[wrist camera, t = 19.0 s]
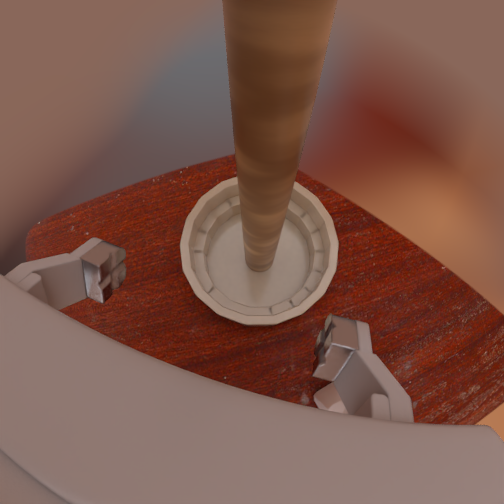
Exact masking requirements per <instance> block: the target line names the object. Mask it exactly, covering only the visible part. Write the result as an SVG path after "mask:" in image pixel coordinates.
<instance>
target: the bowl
mask: <svg viewBox="0 0 504 504" xmlns="http://www.w3.org/2000/svg"><path fill="white" fill-rule="evenodd" d="M338 243H339V242H338V239H337V235H336V231H335V228H334V224H333V221H332V218H331V216H330V215H329V213H328V212H327V210H326V209H325V208H324V206H323V205H322V203H321V202H320V201H319V199H318V198H317V197H316V196H315V195H314V194H312V193H311V192H309V191H308V190H307V189H305V188H304V187H303V186H301V185H300V184H298V183H297V182H294V186H293V190H292V194H291V198H290V201H289V205H288V209H287V213H286V217H285V220H284V224H283V228H282V232H281V235H280V239H279V243H278V246H277V250H276V254H275V257H274V261H273V264H272V266H271V267H270V268H269V269H268V270H266V271H264V272H255V271H253V270H251V269H250V268H249V267H248V266H247V264H246V261H245V252H244V242H243V232H242V221H241V210H240V200H239V189H238V178H237V177H235V178H232V179H229V180H226V181H222V182H221V183H219V184H218V185H217V186H215V187H214V188H213V189H211V190H210V191H209V192H207V193H206V194H205V195H203V196H202V197H201V198H200V199H199V201H198V202H197V204H196V205H195V207H194V208H193V209H192V211H191V212H190V214H189V215H188V217H187V219H186V221H185V225H184V229H183V233H182V237H181V241H180V251H181V259H182V268H183V272H184V274H185V276H186V278H187V280H188V281H189V283H190V285H191V287H192V289H193V291H194V293H195V295H196V296H197V297H198V298H199V299H201V300H202V301H203V302H204V303H205V304H206V305H207V306H209V307H210V308H211V309H212V310H213V311H214V312H215V313H217V314H218V315H220V316H221V317H223V318H225V319H228V320H231V321H233V322H236V323H239V324H242V325H244V326H274V325H276V324H279V323H281V322H284V321H287V320H289V319H292V318H294V317H297V316H299V315H301V314H303V313H304V312H305V311H307V310H308V309H309V308H310V307H311V306H312V305H313V304H314V303H315V302H317V301H318V300H319V299H320V298H321V297H322V296H323V295H324V294H325V292H326V290H327V288H328V286H329V284H330V282H331V280H332V278H333V276H334V274H335V272H336V268H337V257H338V246H339V244H338Z"/></svg>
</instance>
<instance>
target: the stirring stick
mask: <svg viewBox="0 0 504 504" xmlns="http://www.w3.org/2000/svg"><path fill="white" fill-rule="evenodd" d="M222 1H223V14H224V26H225V39H226V52H227V63H228V75H229V87H230V98H231V111H232V122H233V134H234V145H235V156H236V167H237V178H238V189H239V200H240V210H241V221H242V232H243V242H244V252H245V261H246V264H247V266H248V267H249V268H250V269H251V270H253V271H255V272H264V271H266V270H268V269H269V268H270V267H271V266H272V264H273V261H274V257H275V254H276V250H277V246H278V243H279V239H280V235H281V232H282V228H283V224H284V220H285V217H286V213H287V209H288V205H289V201H290V198H291V194H292V190H293V186H294V182H295V178H296V174H297V171H298V167H299V163H300V158H301V154H302V151H303V147H304V143H305V139H306V134H307V131H308V127H309V122H310V118H311V114H312V110H313V106H314V102H315V98H316V93H317V89H318V85H319V80H320V76H321V72H322V68H323V63H324V59H325V54H326V50H327V46H328V41H329V37H330V31H331V27H332V23H333V18H334V14H335V9H336V4H337V0H222Z"/></svg>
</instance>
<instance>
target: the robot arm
mask: <svg viewBox="0 0 504 504" xmlns="http://www.w3.org/2000/svg"><path fill="white" fill-rule="evenodd" d="M125 258H126V253H125V250H124V248H122V247H119V246H117V245H114V244H112V243H109V242H106V241H103V240H101V239H98V238H91V239H90V240H88V241H87V242H86V243H84V244H83V245H82V246H80V247H79V248H77V249H76V250H75V251H73V252H72V253H71V254H68V253H65V254H61V255H56V256H52V257H47V258H43V259H39V260H34V261H30V262H26V263H21V264H20V265H18V266H17V267H16V268H14V269H13V270H12V271H10V272H9V273H8V274H7V275H5V276H2V275H1V274H0V504H504V442H503V440H502V439H501V438H500V437H499V435H498V434H497V433H496V432H495V431H494V430H493V429H492V428H491V427H490V426H487V425H443V424H425V423H414V419H413V411H412V404H411V398H410V397H409V395H408V394H407V393H406V392H405V390H404V389H403V388H402V387H401V385H400V384H399V383H398V381H397V380H396V379H395V378H394V376H393V375H392V374H391V373H390V371H389V370H388V369H387V368H386V366H385V365H384V364H383V363H382V361H381V360H380V359H379V358H378V356H377V355H376V354H373V352H372V345H371V337H370V331H369V325H368V323H365V322H361V321H357V320H351V319H347V318H344V317H340V316H336V315H333V314H329V316H328V317H327V319H326V321H325V328H324V329H322V330H321V331H320V333H319V335H318V338H317V341H316V344H315V349H314V355H315V356H316V359H315V360H314V362H313V371H312V377H316V378H320V379H324V380H328V381H332V382H333V384H334V386H335V388H336V390H337V392H338V394H339V396H340V398H341V400H342V402H343V404H344V406H345V408H346V410H347V412H348V414H344V413H338V412H333V411H328V410H323V409H318V408H313V407H309V406H304V405H300V404H295V403H291V402H287V401H283V400H279V399H275V398H271V397H268V396H264V395H260V394H257V393H253V392H250V391H246V390H243V389H240V388H237V387H233V386H230V385H227V384H224V383H221V382H218V381H215V380H212V379H209V378H206V377H203V376H201V375H198V374H195V373H192V372H190V371H187V370H184V369H181V368H179V367H176V366H174V365H171V364H169V363H166V362H164V361H161V360H159V359H156V358H154V357H151V356H149V355H147V354H144V353H142V352H140V351H137V350H135V349H133V348H131V347H129V346H126V345H124V344H122V343H120V342H118V341H116V340H113V339H111V338H109V337H107V336H105V335H103V334H101V333H99V332H97V331H95V330H93V329H91V328H89V327H87V326H85V325H83V324H82V323H80V322H78V321H76V320H74V319H72V318H70V317H69V316H67V315H65V314H63V313H61V312H60V311H58V310H60V309H62V308H65V307H67V306H69V305H72V304H74V303H76V302H79V301H81V300H83V299H86V298H87V297H88V298H90V299H93V300H95V301H97V302H100V303H102V304H104V303H105V302H106V301H107V300H108V299H109V298H110V297H111V295H112V290H114V289H118V288H119V287H120V286H121V285H122V283H123V281H124V279H125V276H126V266H125V264H124V263H123V260H124V259H125Z"/></svg>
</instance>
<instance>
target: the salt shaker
mask: <svg viewBox="0 0 504 504" xmlns="http://www.w3.org/2000/svg"><path fill="white" fill-rule="evenodd" d="M314 401H315V403H316V405H317V406H318V408H319V409H323V410H328V411H333V412H338V413H344V414H348V412H347V410H346V408H345V406H344V404H343V402H342V400H341V398H340V396H339V394H338V392H337V390H336V388H335V386H334V384H333V382H332V383H330V384H328V385H327V386H325V387H324V388H322V389H320V390H319V391H317V392H316V393H315V394H314Z"/></svg>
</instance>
